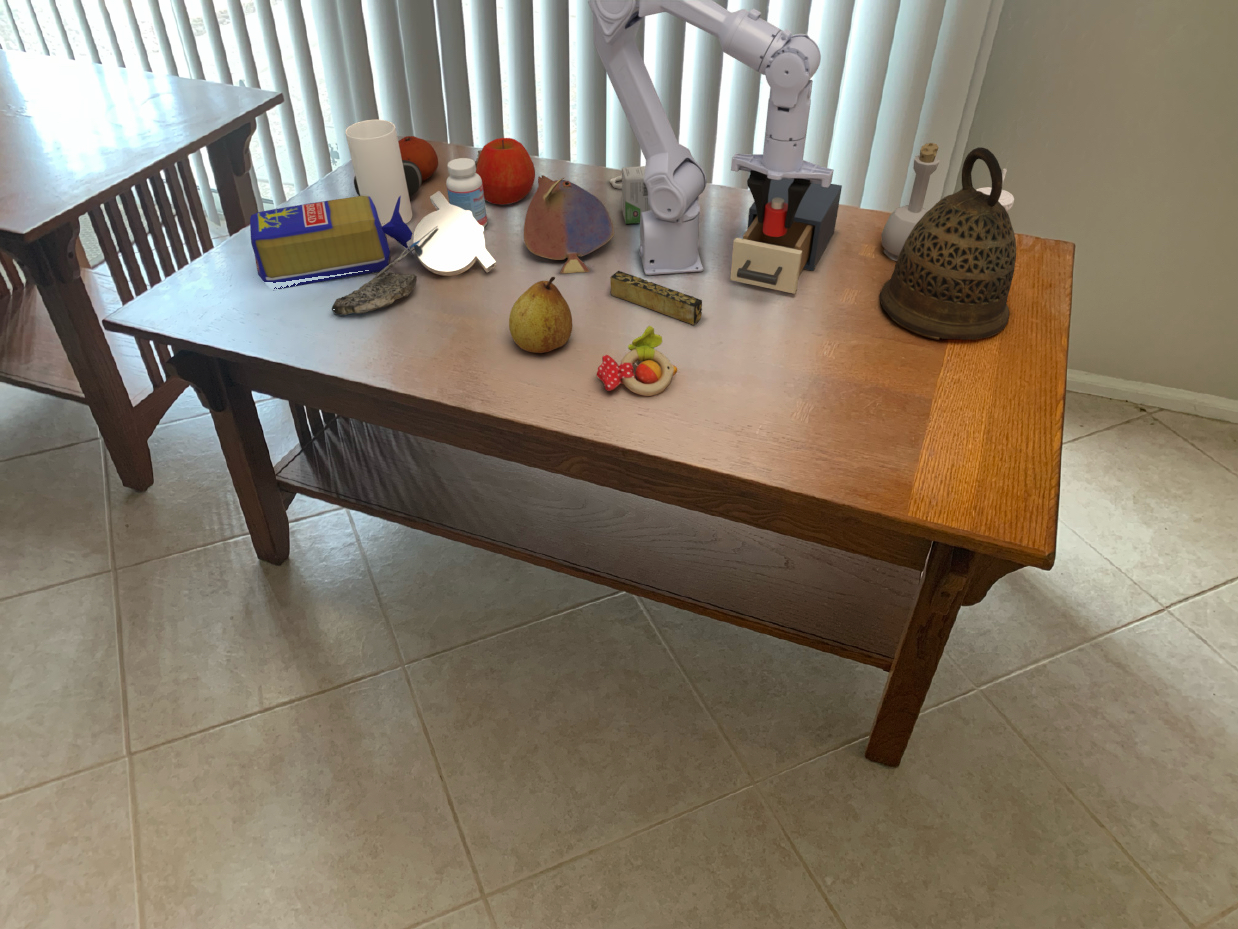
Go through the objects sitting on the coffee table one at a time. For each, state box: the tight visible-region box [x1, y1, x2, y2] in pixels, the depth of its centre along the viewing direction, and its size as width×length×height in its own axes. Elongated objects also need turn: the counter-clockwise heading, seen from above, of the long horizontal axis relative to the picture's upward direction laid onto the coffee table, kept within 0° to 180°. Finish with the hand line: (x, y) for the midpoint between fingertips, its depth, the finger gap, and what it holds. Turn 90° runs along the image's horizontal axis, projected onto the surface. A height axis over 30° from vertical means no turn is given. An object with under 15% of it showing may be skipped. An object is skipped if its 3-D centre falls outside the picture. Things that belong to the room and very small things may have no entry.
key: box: [609, 175, 622, 190], centre depth 161 cm, size 12×1×4 cm
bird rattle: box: [595, 325, 678, 397], centre depth 116 cm, size 6×11×9 cm
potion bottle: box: [880, 142, 940, 262], centre depth 136 cm, size 9×9×18 cm
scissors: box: [374, 226, 438, 278], centre depth 137 cm, size 14×8×1 cm
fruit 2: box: [508, 276, 573, 354], centre depth 121 cm, size 9×9×12 cm
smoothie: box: [976, 168, 1015, 213], centre depth 137 cm, size 6×6×14 cm
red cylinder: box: [763, 198, 788, 237], centre depth 128 cm, size 4×4×5 cm
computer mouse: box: [353, 160, 423, 198], centre depth 156 cm, size 7×12×4 cm
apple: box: [476, 137, 536, 206], centre depth 155 cm, size 11×11×11 cm
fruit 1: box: [398, 135, 439, 182], centre depth 163 cm, size 9×9×8 cm
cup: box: [345, 119, 414, 226], centre depth 149 cm, size 8×8×16 cm
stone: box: [331, 271, 417, 316], centre depth 133 cm, size 14×8×3 cm, turn 143°
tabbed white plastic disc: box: [412, 190, 497, 277], centre depth 139 cm, size 15×8×11 cm
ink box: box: [621, 165, 651, 225], centre depth 150 cm, size 8×5×12 cm
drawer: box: [730, 216, 815, 295], centre depth 134 cm, size 17×10×7 cm, turn 156°
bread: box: [249, 195, 414, 290], centre depth 138 cm, size 10×25×10 cm, turn 108°
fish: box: [523, 174, 615, 275], centre depth 142 cm, size 20×12×15 cm
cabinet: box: [746, 178, 843, 272], centre depth 142 cm, size 14×12×9 cm
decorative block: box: [609, 270, 703, 326], centre depth 130 cm, size 15×2×4 cm, turn 55°
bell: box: [879, 146, 1017, 341], centre depth 122 cm, size 19×26×20 cm
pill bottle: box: [445, 157, 488, 228], centre depth 148 cm, size 6×6×11 cm
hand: (775, 222), depth 129 cm, fingers closed on red cylinder, 3 cm apart
